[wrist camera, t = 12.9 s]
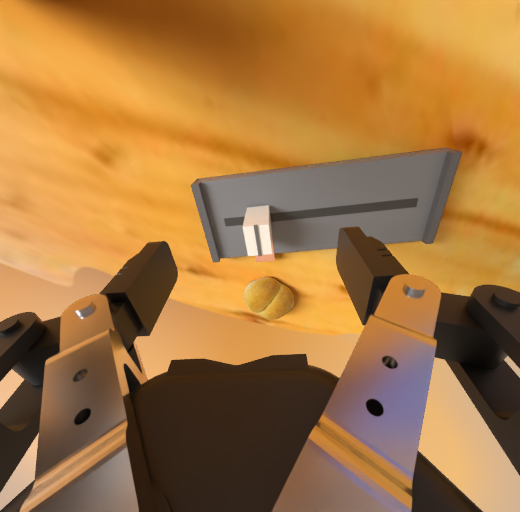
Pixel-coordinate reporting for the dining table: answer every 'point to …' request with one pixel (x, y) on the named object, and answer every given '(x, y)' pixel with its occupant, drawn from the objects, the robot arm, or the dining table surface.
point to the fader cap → (258, 231)
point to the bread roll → (268, 298)
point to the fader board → (330, 202)
